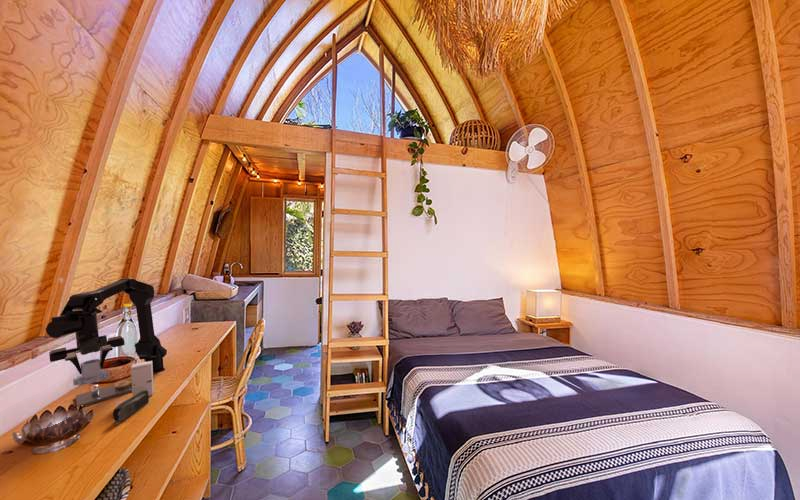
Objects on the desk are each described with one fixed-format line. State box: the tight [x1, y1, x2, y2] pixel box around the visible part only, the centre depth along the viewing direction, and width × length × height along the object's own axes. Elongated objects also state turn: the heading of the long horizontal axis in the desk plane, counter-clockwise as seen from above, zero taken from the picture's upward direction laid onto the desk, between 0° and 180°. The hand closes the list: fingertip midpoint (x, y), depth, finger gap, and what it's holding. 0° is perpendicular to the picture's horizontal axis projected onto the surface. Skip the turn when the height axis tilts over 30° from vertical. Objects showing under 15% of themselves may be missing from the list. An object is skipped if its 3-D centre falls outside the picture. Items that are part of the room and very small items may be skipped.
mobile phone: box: [112, 390, 150, 426], centre depth 105 cm, size 5×3×15 cm
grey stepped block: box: [72, 358, 111, 387], centre depth 112 cm, size 9×9×6 cm
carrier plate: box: [75, 378, 132, 408], centre depth 121 cm, size 18×12×4 cm, turn 139°
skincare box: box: [130, 361, 155, 397], centre depth 117 cm, size 6×4×12 cm
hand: (91, 371), depth 112 cm, fingers closed on grey stepped block, 5 cm apart
